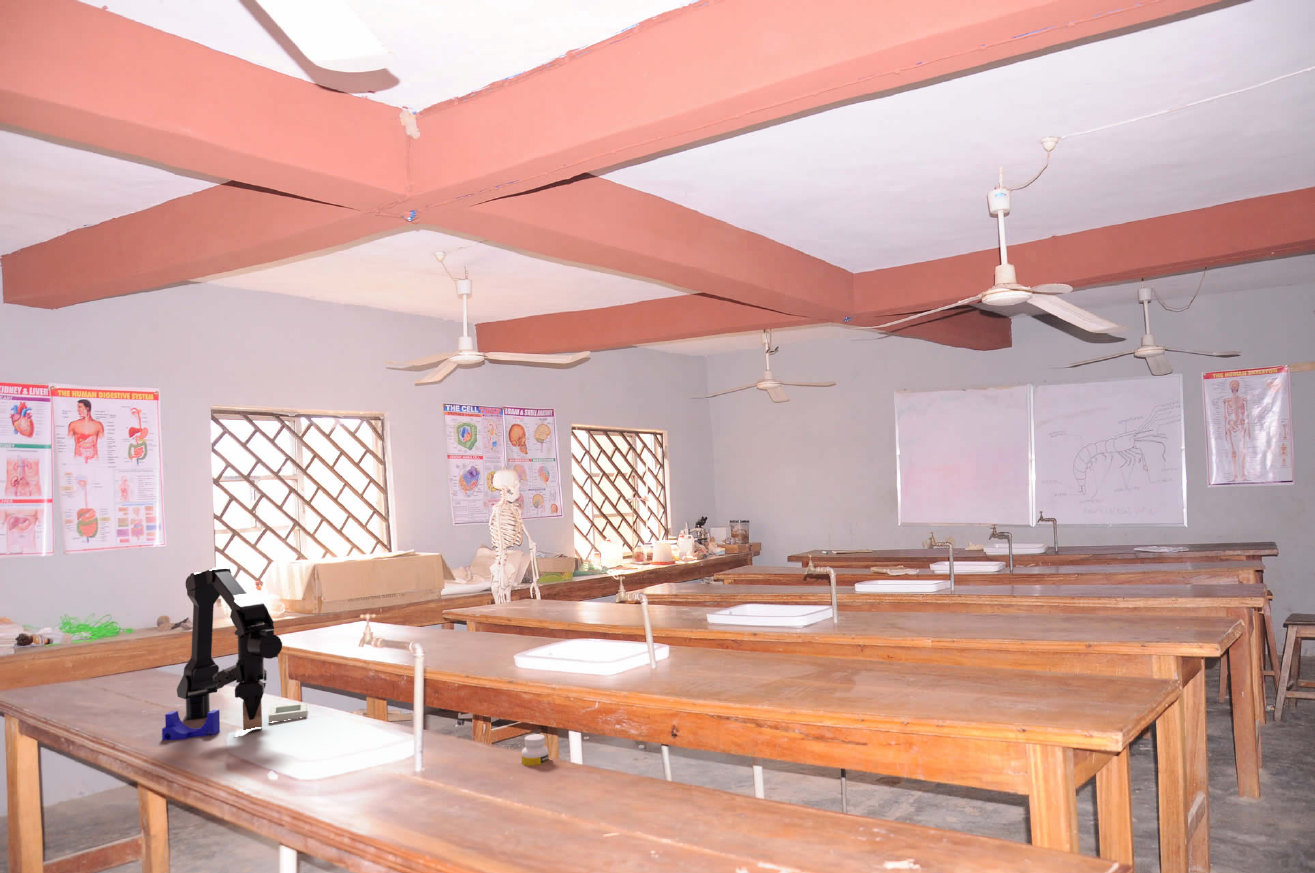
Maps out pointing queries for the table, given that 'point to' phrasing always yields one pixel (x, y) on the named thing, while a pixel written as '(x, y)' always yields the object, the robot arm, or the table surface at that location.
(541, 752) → the supplement bottle
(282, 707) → the frame
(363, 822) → the table surface
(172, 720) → the cable clip
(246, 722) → the walnut peg block
